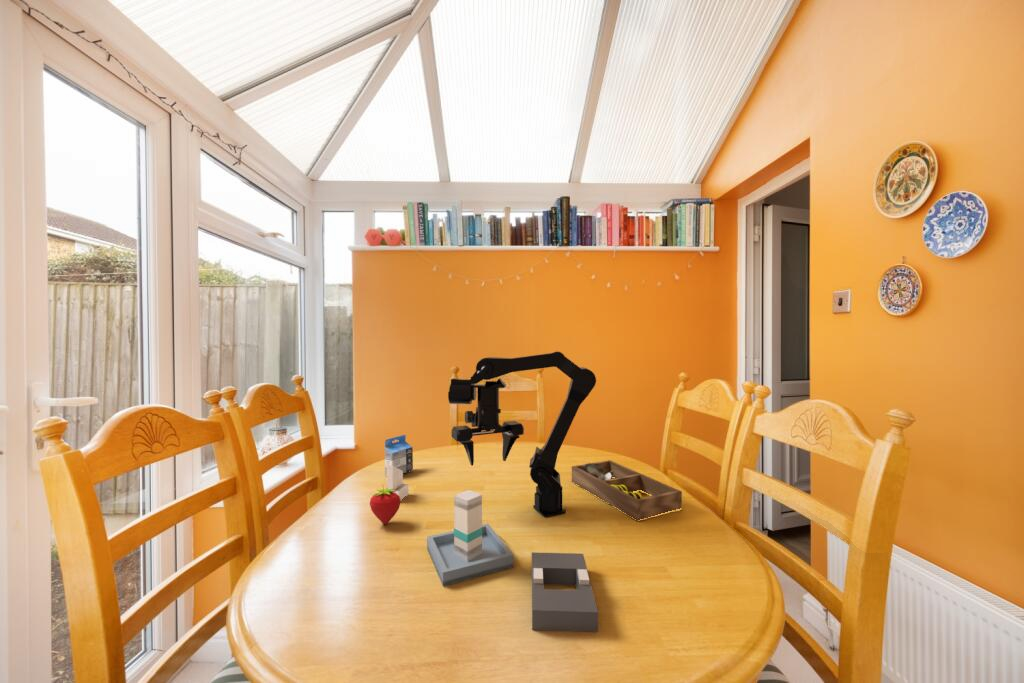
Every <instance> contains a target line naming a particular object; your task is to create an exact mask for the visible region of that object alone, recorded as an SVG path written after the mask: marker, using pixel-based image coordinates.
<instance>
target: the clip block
mask: <svg viewBox="0 0 1024 683" xmlns="http://www.w3.org/2000/svg"><path fill="white" fill-rule="evenodd" d="M587 568H588V567H587V564H586V560H585V555H584V553H573V552H571V553H570V552H569V553H567V552H565V553H564V552H563V553H562V552H534V551H533V552H531V623H532V625H531V626H532V627H531V630H533V631H556V632H557V631H558V632H559V631H561V632H589V633H598V632H599V611H598V606H597V604H596V599H595V595H594V591H593V587H592V582H591V580H590V576H589V571H588V569H587ZM545 585H547V586H548V585H550V586H551V585H552V586H553V585H554V586H555V585H556V586H557V585H558V586H575V587H576V590H575V589H549V588H548V589H547V588H546V589H545Z"/></svg>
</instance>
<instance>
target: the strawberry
mask: <svg viewBox="0 0 1024 683" xmlns="http://www.w3.org/2000/svg"><path fill="white" fill-rule="evenodd" d="M382 486H384V484H382ZM392 490H394V489H388V488H387V487H386V488H384V487H382V489H375V491H377V493H374V494H372V496H371V497H370V500H369V506H370V511H371V512H372V513H373V514H374V516H375V517H376V518H377V519H378V520H379V521H380V522H381V524H383V525H387V524H389V523H390V521H391V520H392V519H393V518H394V516H395V515H396V514H397V512H398V511H399V509H400V506H401V503H402V500H400V496H399V495H397V494H396V493H394V492H396V491H392Z"/></svg>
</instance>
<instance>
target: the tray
mask: <svg viewBox="0 0 1024 683" xmlns="http://www.w3.org/2000/svg"><path fill="white" fill-rule="evenodd" d="M426 549H427V552H428V554H429V556H430V558H431V561H432V563H433V565H434V569H435V571H436V573H437V575H438V578H439V579H440V580H439V581H440V582H441V585H442V586H443V587H446V586H449V585H453V584H457V583H460V582H465V581H469V580H472V579H475V578H480V577H483V576H486V575H491V574H494V573H498V572H502V571H505V570H508V569H512V568H514V564H515V563H514V553H512V551H511V549H510V548H509V547H508V546H507V544H506V543H505V542H504V541H503V540H502V538H501V537H500V536H499V535H498V534H497V532H496V531H495V530H494V529H493V528H492V527H491V525H490V524H489V523H484V524H482V553H481V554H480V555H478V556H476V557H475V558H473V559H471V560H469V561H468V562H467V561H465V560H464V559H462V558H460V557H458V556H457V555H455V554H454V530H451V531H448V532H446V531H445V532H442V533H438V534H434V535H428V536H426Z"/></svg>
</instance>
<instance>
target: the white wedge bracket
mask: <svg viewBox="0 0 1024 683" xmlns="http://www.w3.org/2000/svg"><path fill="white" fill-rule="evenodd" d="M403 476H404V474H403V471H402V470H400V469H398V468H396V467H394V466H387V477H386V488H388V489H394V490H392V491H396V492H394V493H396V494H397V495H399V496H400V500H401V501H403V500H404V499H405V498H406V497H408V496H409V495H408V494H409V490H410V489H409V486H410V485H409V483H406V482H405V483H404V477H403ZM405 496H406V497H405ZM404 497H405V498H404ZM403 498H404V499H403ZM402 499H403V500H402Z"/></svg>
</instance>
